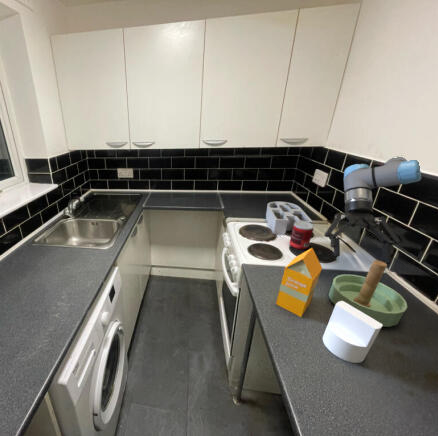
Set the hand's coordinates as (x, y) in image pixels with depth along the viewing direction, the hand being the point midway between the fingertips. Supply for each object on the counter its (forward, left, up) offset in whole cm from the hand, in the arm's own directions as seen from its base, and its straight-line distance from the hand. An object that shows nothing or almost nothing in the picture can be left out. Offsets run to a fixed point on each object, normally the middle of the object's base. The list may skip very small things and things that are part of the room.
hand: (361, 260), depth 78 cm
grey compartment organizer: (+16, -49, -12) cm, 53 cm away
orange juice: (+20, +16, -12) cm, 28 cm away
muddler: (0, +10, -11) cm, 15 cm away
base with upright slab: (+10, +29, -12) cm, 33 cm away
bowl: (0, +10, -11) cm, 15 cm away
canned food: (+12, -26, -12) cm, 31 cm away
